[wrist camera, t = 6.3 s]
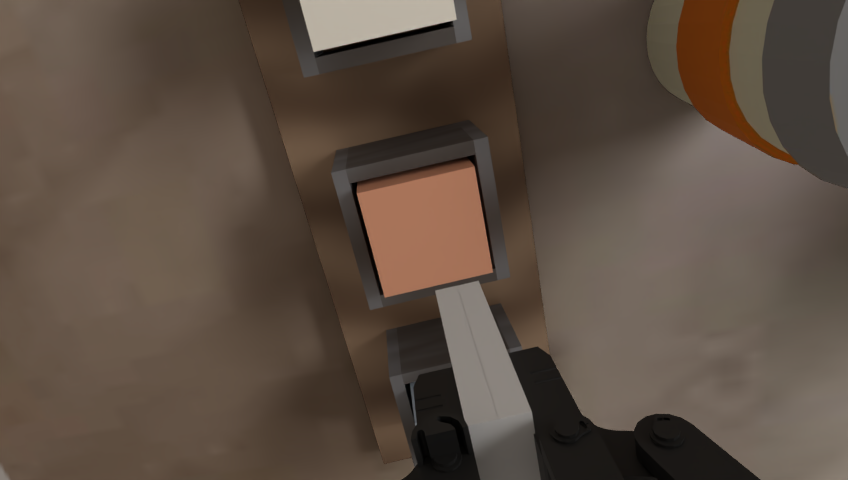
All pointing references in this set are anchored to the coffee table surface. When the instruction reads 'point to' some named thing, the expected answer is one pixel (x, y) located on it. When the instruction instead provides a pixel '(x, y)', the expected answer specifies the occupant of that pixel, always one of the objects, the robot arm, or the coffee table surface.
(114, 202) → the coffee table surface
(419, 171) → the terracotta button
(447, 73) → the console
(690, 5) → the reusable coffee cup
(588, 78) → the coffee table surface
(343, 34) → the cream button
